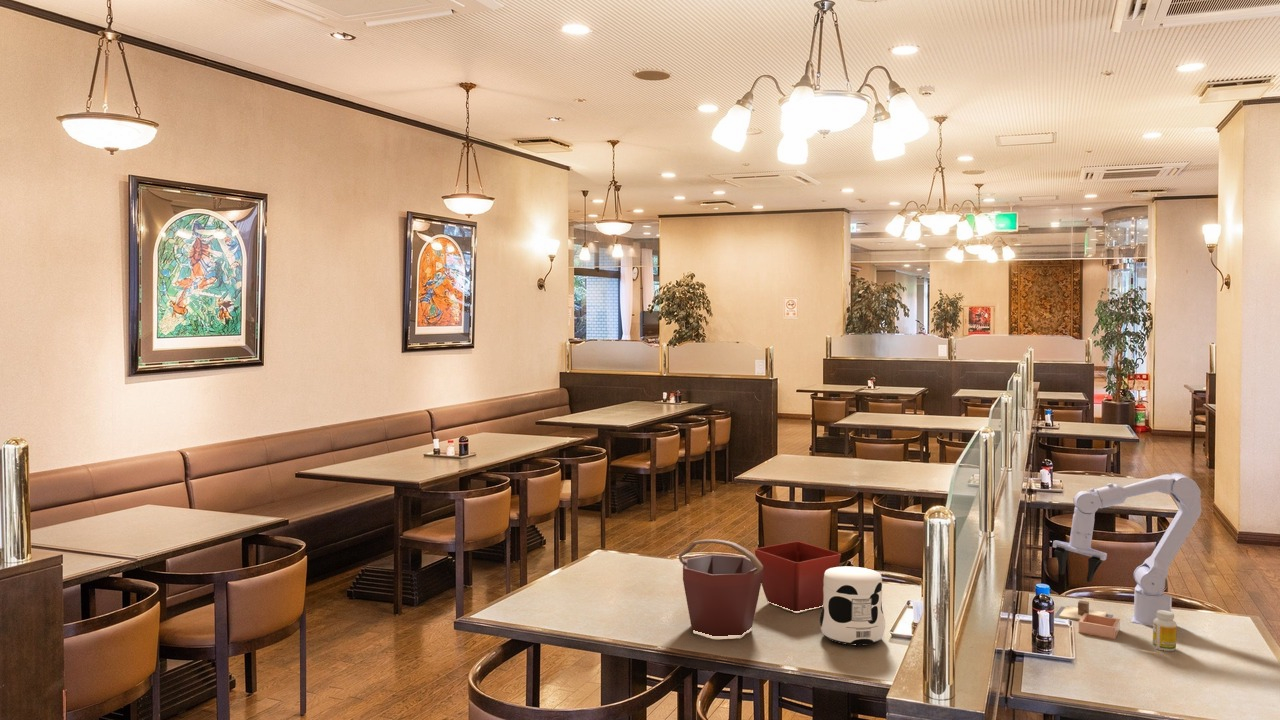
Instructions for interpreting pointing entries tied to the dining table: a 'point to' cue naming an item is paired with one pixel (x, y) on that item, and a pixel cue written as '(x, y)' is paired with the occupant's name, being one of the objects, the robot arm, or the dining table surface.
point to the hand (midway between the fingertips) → (1075, 577)
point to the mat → (1070, 619)
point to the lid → (1079, 611)
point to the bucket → (721, 589)
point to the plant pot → (795, 573)
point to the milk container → (852, 606)
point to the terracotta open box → (1099, 626)
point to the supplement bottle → (1164, 631)
